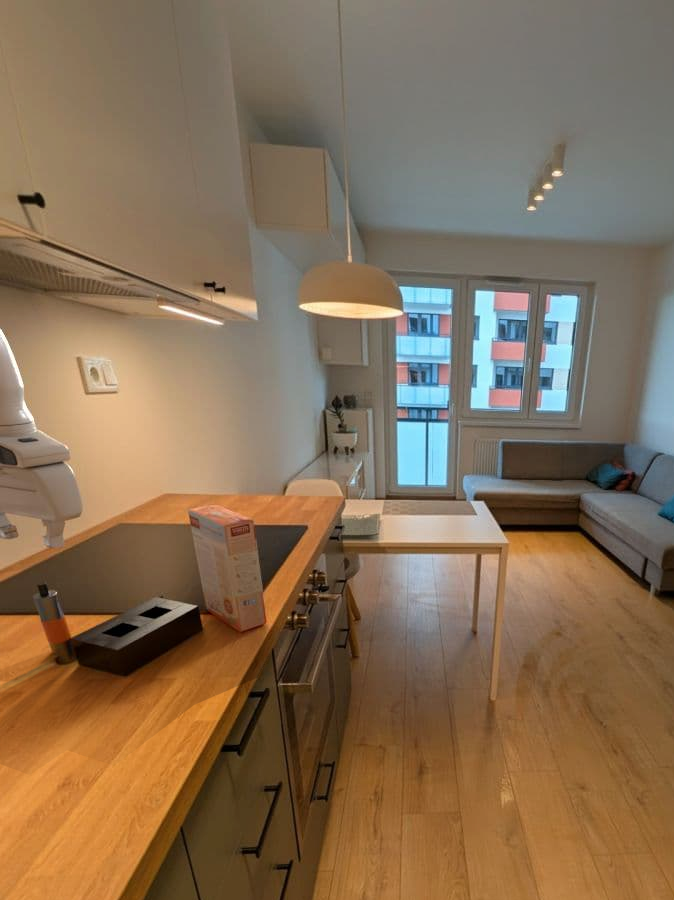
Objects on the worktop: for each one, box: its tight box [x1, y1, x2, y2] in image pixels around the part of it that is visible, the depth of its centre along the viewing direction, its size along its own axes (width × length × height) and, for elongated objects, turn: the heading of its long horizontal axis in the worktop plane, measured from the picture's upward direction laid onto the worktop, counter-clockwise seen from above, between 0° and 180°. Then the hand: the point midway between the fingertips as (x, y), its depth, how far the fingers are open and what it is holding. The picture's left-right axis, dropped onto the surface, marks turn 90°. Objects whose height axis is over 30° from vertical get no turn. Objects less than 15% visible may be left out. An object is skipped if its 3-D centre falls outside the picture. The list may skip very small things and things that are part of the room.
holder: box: [70, 596, 204, 678], centre depth 88 cm, size 10×17×5 cm, turn 162°
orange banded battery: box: [32, 581, 77, 666], centre depth 81 cm, size 3×3×14 cm
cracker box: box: [187, 504, 268, 633], centre depth 95 cm, size 14×6×21 cm, turn 48°
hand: (32, 542), depth 74 cm, fingers open, 8 cm apart
